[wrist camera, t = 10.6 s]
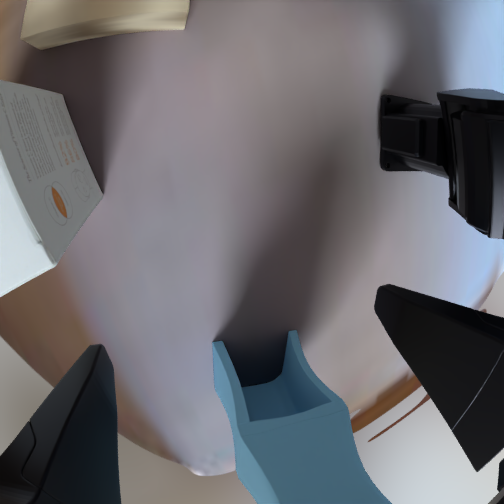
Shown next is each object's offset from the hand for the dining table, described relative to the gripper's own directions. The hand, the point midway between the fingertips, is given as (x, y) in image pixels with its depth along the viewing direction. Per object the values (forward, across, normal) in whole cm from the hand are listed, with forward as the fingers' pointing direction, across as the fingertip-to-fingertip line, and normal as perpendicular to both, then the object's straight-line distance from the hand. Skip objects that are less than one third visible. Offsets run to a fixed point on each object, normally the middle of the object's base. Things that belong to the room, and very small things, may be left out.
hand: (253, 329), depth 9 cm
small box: (+13, +10, -5) cm, 17 cm away
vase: (+13, -3, +16) cm, 21 cm away
